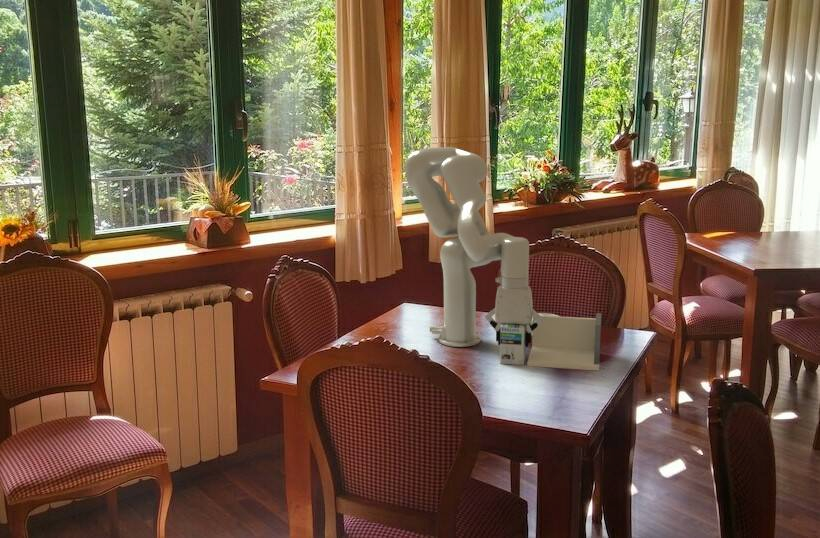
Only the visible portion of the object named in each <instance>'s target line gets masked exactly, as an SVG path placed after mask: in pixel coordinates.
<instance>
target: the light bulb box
mask: <svg viewBox="0 0 820 538" xmlns="http://www.w3.org/2000/svg"><path fill="white" fill-rule="evenodd" d="M525 333H526V328H525V325H518V324H501V340H500V345H499V346H500V347H499V348H500V349H499V352H500V353H499V355H500V356H499V360H500V361H499V364H500V365H502V364H503V365H517V366H524V365H525V362H526V355H527V347H526V346H525Z"/></svg>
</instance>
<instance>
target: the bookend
mask: <svg viewBox="0 0 820 538" xmlns="http://www.w3.org/2000/svg"><path fill="white" fill-rule="evenodd" d="M595 318H596V325H595V350H594V364H598V365H599V366H600V353H601V333H602V332H601V331H602V329H601V328H602V313H601V312H600V313H599V312H596V314H595Z"/></svg>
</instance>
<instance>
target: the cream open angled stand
mask: <svg viewBox="0 0 820 538" xmlns="http://www.w3.org/2000/svg"><path fill="white" fill-rule="evenodd" d="M540 316H541V315H540ZM559 316H560V315H558V316H541V317H543V321H542V322H541V323H540V324H539V325H538V326H537V328H535V329H534V330H533V333H532V335H531V344H532V345H531V349H530V353H529V355H528V359H527V366H528V367H541V368H557V369H570V370H581V371H582V370H584V371H585V370H586V371H600V364H599V365H598V364H594V350H595V325H596V317H595V318H593V317H577V316H576V317H575V316H560V317H559ZM536 320H537V319H536V318H535V317H533V323H534V322H535V321H536Z"/></svg>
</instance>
